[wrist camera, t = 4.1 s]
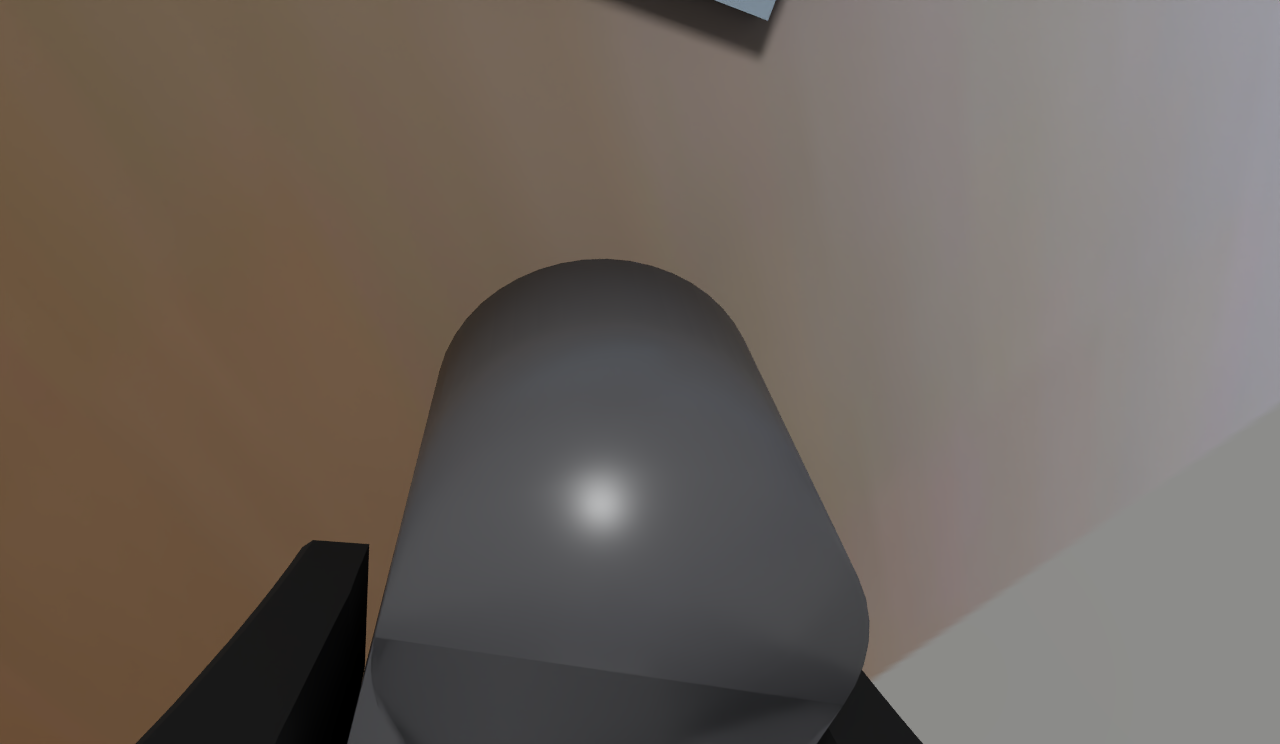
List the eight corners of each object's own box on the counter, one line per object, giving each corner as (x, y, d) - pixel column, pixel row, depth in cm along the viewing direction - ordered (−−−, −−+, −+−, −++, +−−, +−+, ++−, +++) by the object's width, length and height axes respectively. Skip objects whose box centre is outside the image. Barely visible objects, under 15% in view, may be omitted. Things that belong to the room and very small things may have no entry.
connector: (806, 310, 9) (959, 536, 6) (573, 791, 14) (582, 1083, 10) (478, 216, 8) (428, 419, 5) (339, 767, 13) (261, 1082, 9)
